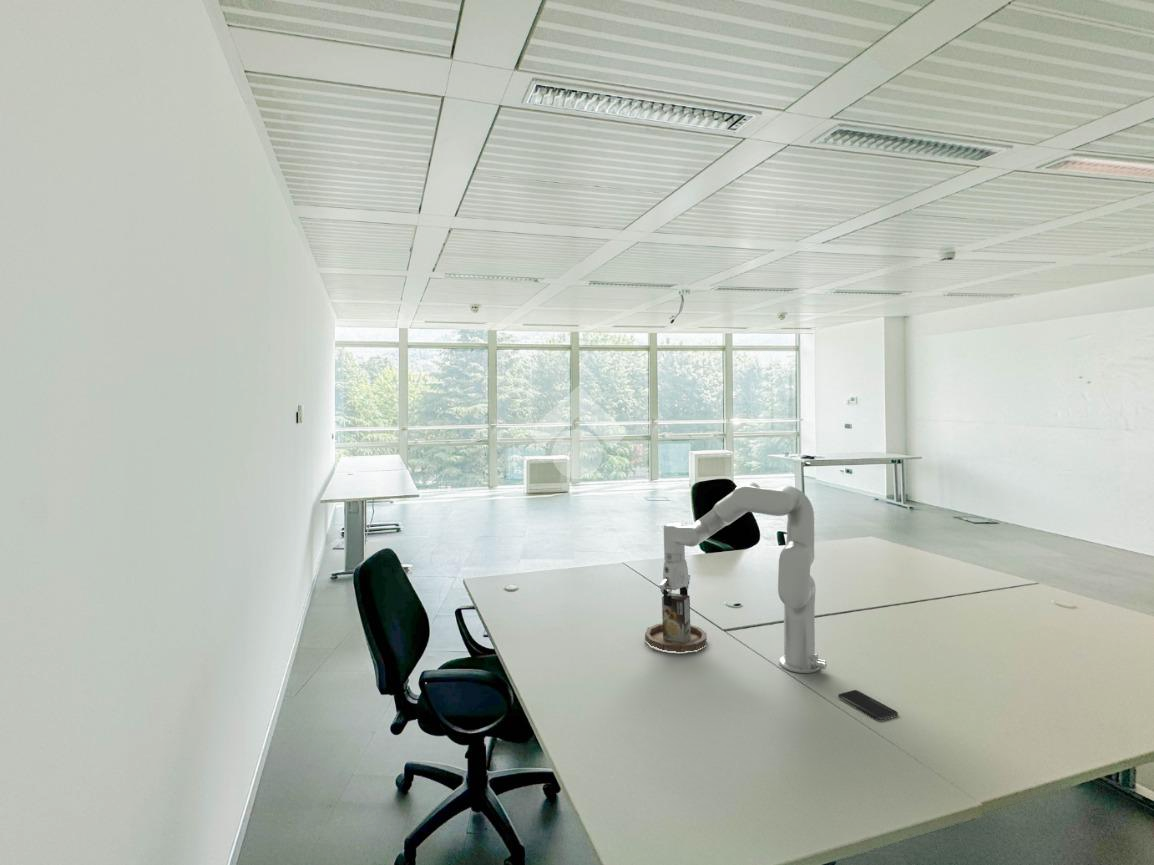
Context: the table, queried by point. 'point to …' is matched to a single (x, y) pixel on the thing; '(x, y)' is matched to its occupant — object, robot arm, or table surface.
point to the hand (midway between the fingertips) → (675, 602)
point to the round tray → (656, 639)
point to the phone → (868, 705)
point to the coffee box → (677, 619)
